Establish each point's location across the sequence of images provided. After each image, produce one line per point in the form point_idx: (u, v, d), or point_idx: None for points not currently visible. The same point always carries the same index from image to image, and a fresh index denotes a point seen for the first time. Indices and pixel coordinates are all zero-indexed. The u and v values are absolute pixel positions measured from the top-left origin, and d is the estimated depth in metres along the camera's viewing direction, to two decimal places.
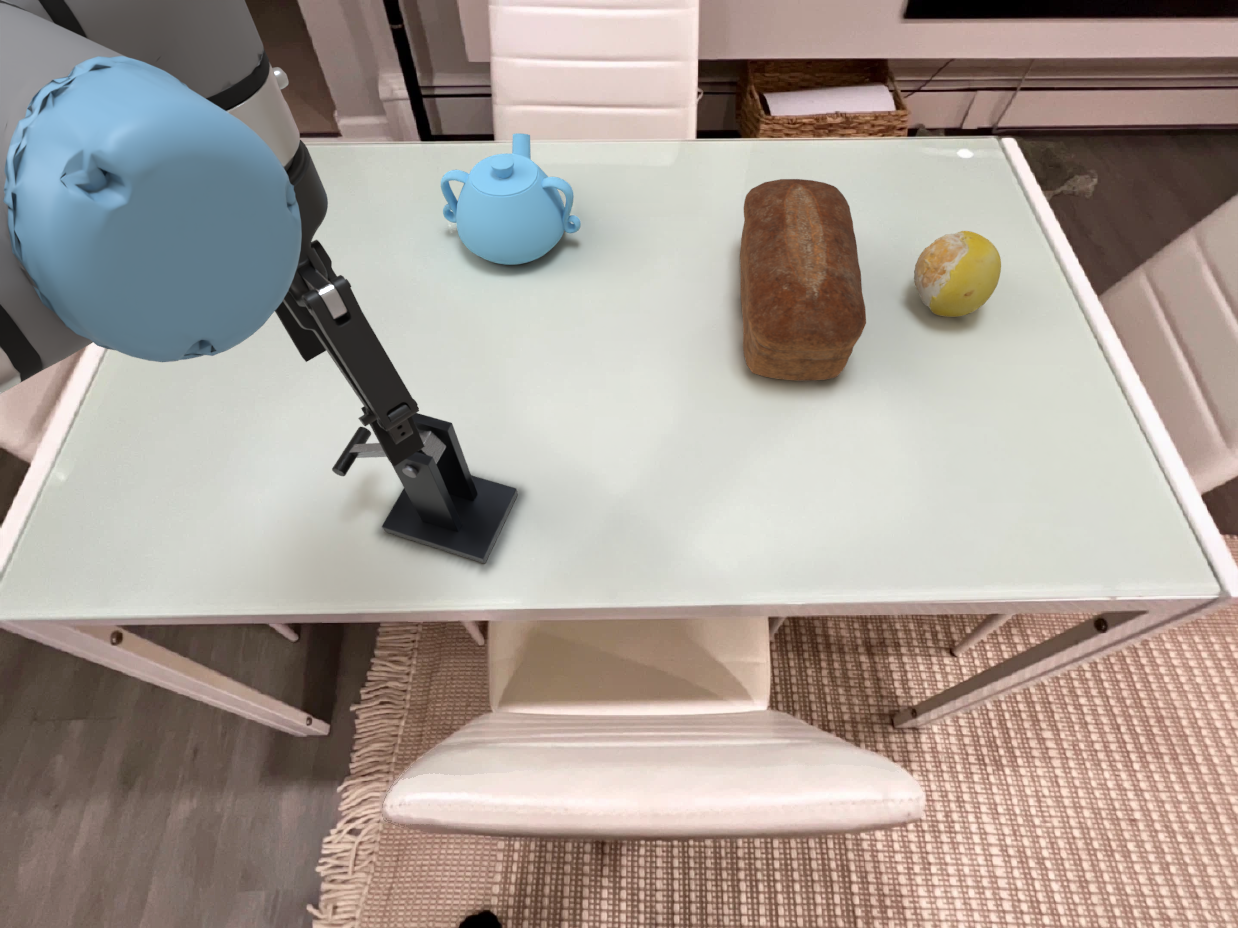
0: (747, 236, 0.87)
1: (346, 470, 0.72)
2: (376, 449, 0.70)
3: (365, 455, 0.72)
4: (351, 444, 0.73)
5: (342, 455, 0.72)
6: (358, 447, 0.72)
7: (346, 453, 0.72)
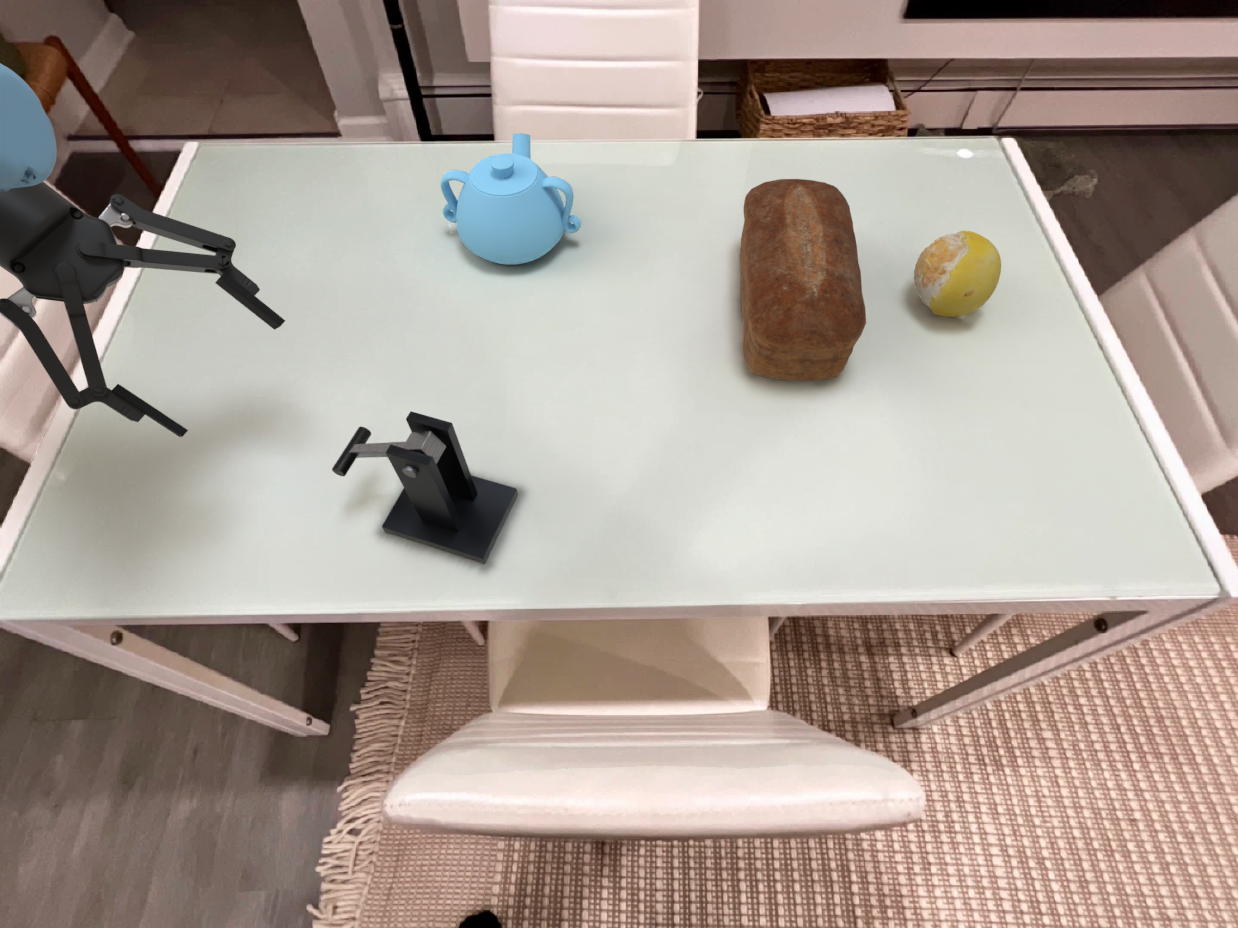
0: (747, 236, 0.87)
1: (346, 470, 0.72)
2: (376, 449, 0.70)
3: (365, 455, 0.72)
4: (351, 444, 0.73)
5: (342, 455, 0.72)
6: (358, 447, 0.72)
7: (346, 453, 0.72)
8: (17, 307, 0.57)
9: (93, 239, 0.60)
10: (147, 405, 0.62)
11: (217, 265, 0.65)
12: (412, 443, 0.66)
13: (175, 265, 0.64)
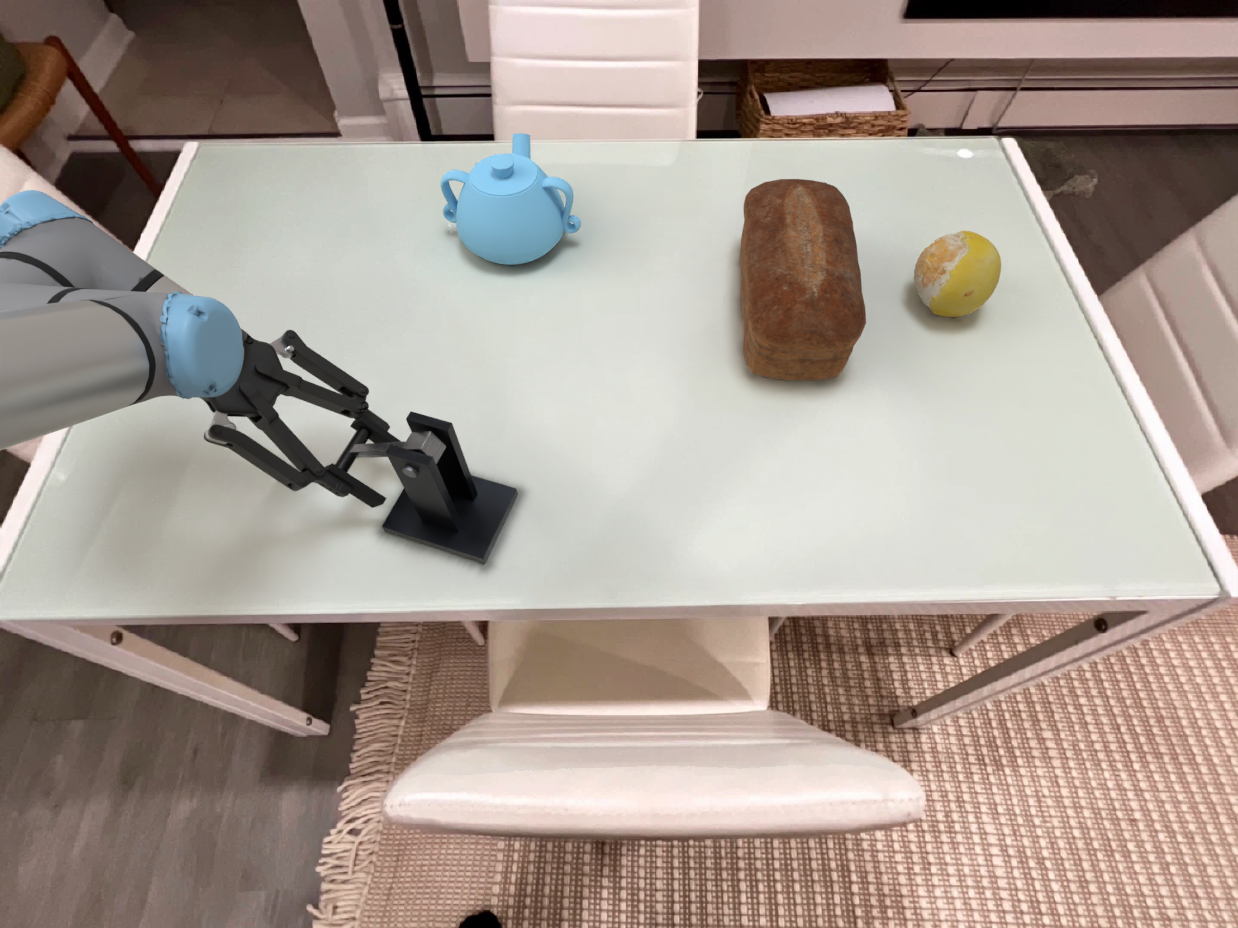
0: (747, 236, 0.87)
1: (346, 470, 0.72)
2: (376, 449, 0.70)
3: (365, 455, 0.72)
4: (351, 444, 0.73)
5: (342, 455, 0.72)
6: (358, 447, 0.72)
7: (346, 453, 0.72)
8: (225, 427, 0.65)
9: (263, 359, 0.68)
10: (355, 479, 0.71)
11: (355, 408, 0.73)
12: (412, 443, 0.66)
13: (322, 399, 0.71)
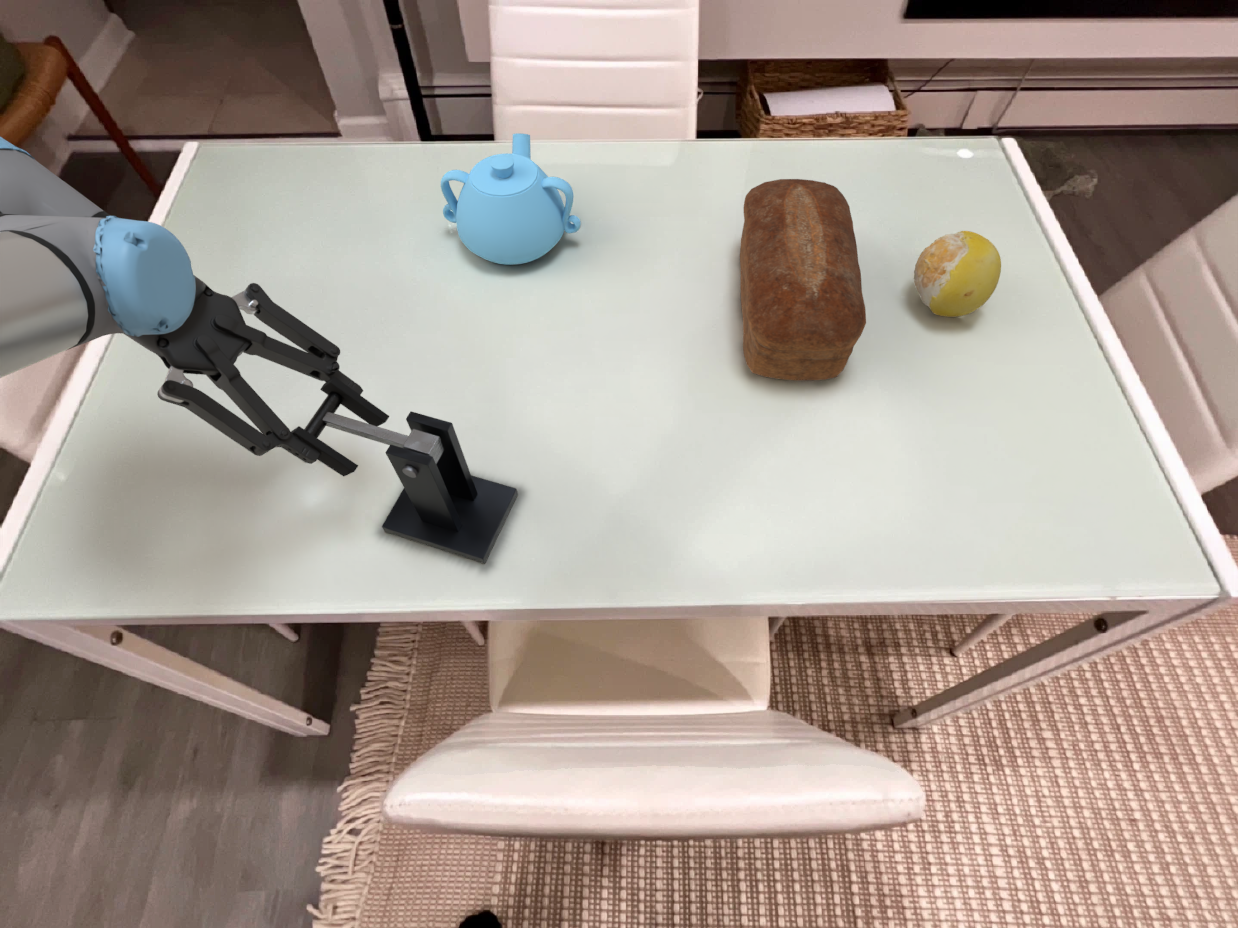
0: (747, 236, 0.87)
1: None
2: (362, 430, 0.68)
3: (343, 429, 0.68)
4: (324, 411, 0.68)
5: (314, 422, 0.68)
6: (335, 418, 0.68)
7: (319, 420, 0.68)
8: (180, 384, 0.60)
9: (224, 313, 0.63)
10: (323, 444, 0.67)
11: (325, 369, 0.68)
12: (417, 443, 0.66)
13: (289, 358, 0.67)
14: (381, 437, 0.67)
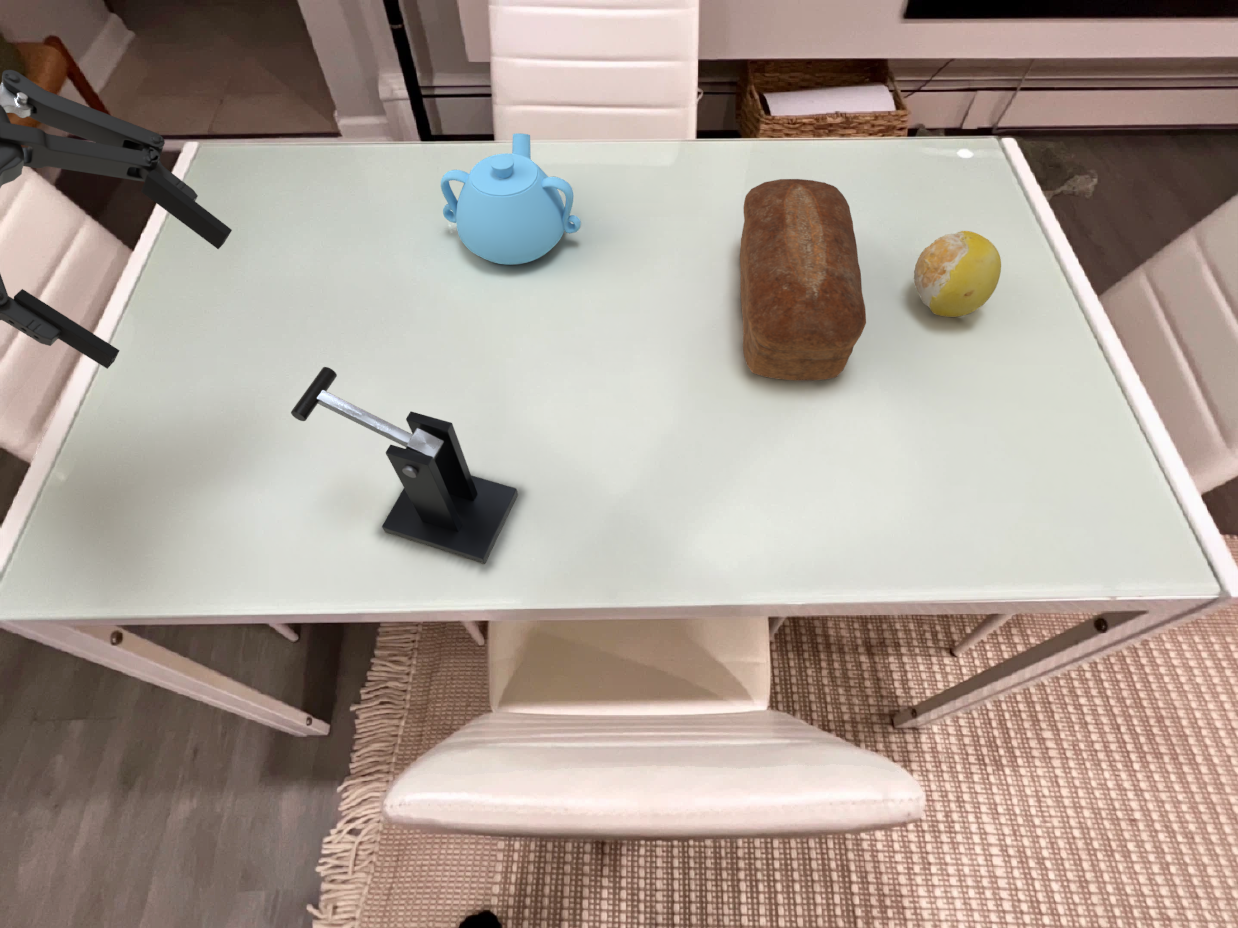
0: (747, 236, 0.87)
1: (307, 417, 0.64)
2: (360, 417, 0.65)
3: (338, 411, 0.65)
4: (319, 388, 0.65)
5: (309, 399, 0.64)
6: (330, 398, 0.65)
7: (313, 398, 0.64)
8: None
9: None
10: (63, 317, 0.49)
11: (143, 162, 0.54)
12: (421, 445, 0.66)
13: (90, 158, 0.52)
14: (381, 429, 0.66)
